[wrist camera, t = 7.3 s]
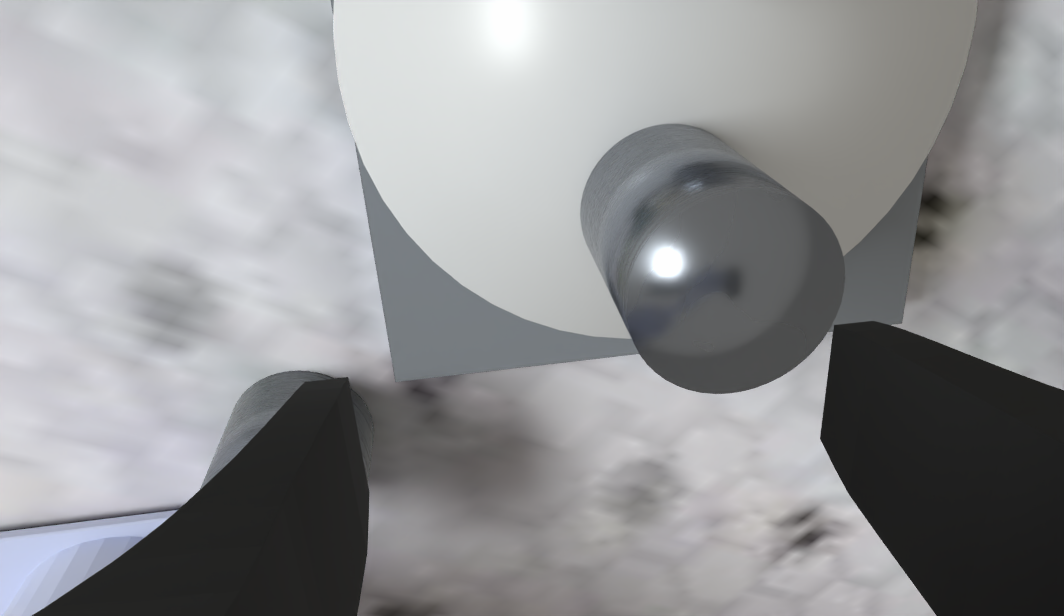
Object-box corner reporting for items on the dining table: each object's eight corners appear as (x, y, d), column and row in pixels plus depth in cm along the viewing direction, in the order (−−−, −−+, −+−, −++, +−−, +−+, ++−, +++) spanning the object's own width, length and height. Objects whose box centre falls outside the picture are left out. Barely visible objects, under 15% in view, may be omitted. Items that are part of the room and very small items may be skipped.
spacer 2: (750, 269, 20) (843, 371, 15) (591, 300, 19) (638, 411, 15) (743, 108, 18) (847, 169, 13) (569, 141, 18) (614, 214, 13)
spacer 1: (383, 477, 24) (371, 605, 19) (248, 494, 23) (204, 628, 19) (361, 362, 22) (343, 474, 18) (215, 379, 22) (157, 497, 17)
